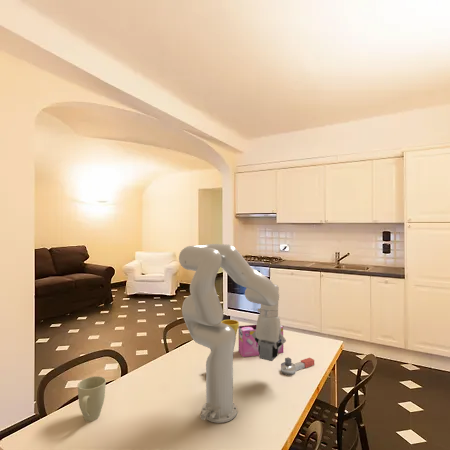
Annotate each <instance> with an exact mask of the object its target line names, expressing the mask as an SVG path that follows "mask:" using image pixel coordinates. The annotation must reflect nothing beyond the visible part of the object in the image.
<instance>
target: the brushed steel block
mask: <svg viewBox="0 0 450 450" xmlns="http://www.w3.org/2000/svg"><path fill="white" fill-rule="evenodd" d="M273 349H274V343H273V342H269V341H264V340H262V341H260V355H259V357H258V358H259V359H261V360H264V361H268V362H273V361H274V360H275V359H276V358H273Z"/></svg>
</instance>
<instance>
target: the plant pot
mask: <svg viewBox="0 0 450 450" xmlns="http://www.w3.org/2000/svg"><path fill="white" fill-rule="evenodd" d="M221 323H224V324H227V325H229V326H230V327H232V328H233V330H234V331H235V334H236V335H237V333H238V330H239V326H240V323H239V321H238V320H236V319H223V320H222V321H221Z"/></svg>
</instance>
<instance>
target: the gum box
mask: <svg viewBox="0 0 450 450" xmlns="http://www.w3.org/2000/svg"><path fill="white" fill-rule="evenodd" d="M256 326H257V324H248V325H239V328H238V353H239V354H240V355H241V357H243V358H246V357H248V358H249V357H255V356H256V357H257V356H260V355H259V352H258V347H259V345H258V343H257V342H256V341H255V339H254V338H253V336H252V334H253V333H254V332H255V331H256ZM281 334H282V335H283V336H284V326H283V325H281ZM279 342H281V339H279V341H278V343H279ZM282 353H283V354H284V343H283V344H282V345H281V346H279V347H278V354H282Z"/></svg>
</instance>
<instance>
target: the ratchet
mask: <svg viewBox="0 0 450 450" xmlns="http://www.w3.org/2000/svg"><path fill="white" fill-rule="evenodd" d="M313 366H315V359H314V358H311V357H307V358H304V359H301V360H300V361H299V362H296V363H295V362H292V359H291V358H290V357H285V358H284V362H282V363H281V364H280V372H281V374H283V375H286V376H294V375H295V374H296V372H297V371H300V370H302V369H307V368H309V367H313Z"/></svg>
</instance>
